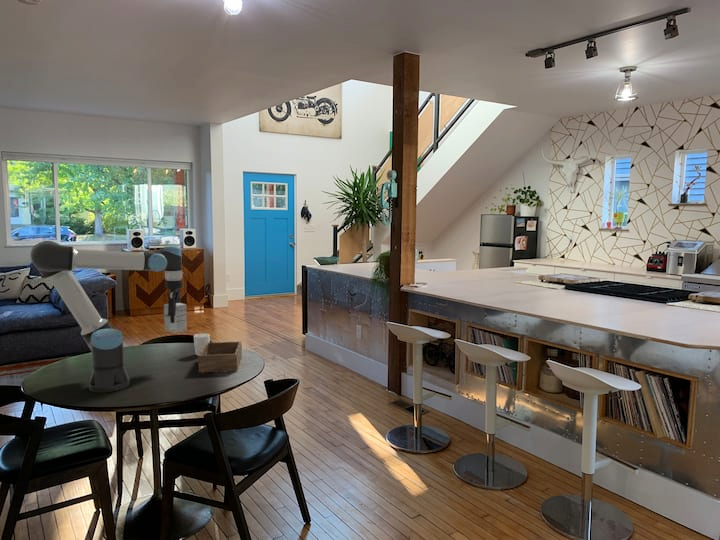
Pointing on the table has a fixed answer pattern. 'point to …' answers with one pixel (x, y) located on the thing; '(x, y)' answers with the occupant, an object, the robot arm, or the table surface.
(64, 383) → the table surface
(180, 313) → the supplement box
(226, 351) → the walnut bin
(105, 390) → the robot arm
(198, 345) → the white cup
